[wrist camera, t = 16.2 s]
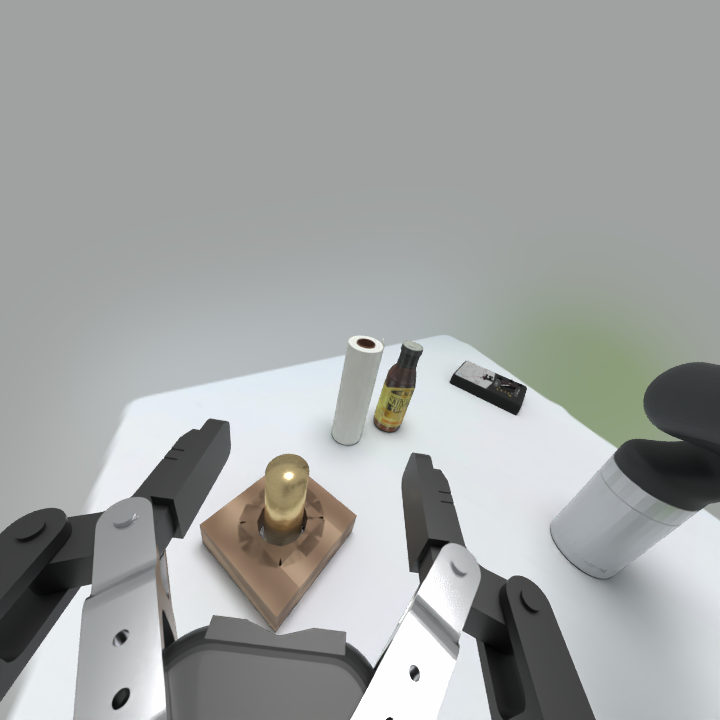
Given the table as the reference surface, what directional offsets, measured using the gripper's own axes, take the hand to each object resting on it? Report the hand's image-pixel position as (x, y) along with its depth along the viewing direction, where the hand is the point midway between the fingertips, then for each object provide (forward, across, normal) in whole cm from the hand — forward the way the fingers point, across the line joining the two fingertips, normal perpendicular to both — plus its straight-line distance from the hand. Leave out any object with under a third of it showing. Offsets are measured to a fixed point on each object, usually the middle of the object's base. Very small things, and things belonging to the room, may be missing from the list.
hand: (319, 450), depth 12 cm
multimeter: (+61, -44, +33) cm, 82 cm away
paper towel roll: (+34, -4, +32) cm, 47 cm away
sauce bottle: (+39, -12, +32) cm, 52 cm away
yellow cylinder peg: (+12, +4, +32) cm, 35 cm away
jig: (+12, +4, +32) cm, 35 cm away
